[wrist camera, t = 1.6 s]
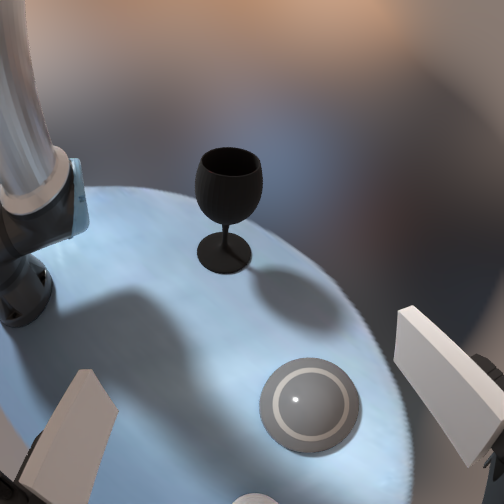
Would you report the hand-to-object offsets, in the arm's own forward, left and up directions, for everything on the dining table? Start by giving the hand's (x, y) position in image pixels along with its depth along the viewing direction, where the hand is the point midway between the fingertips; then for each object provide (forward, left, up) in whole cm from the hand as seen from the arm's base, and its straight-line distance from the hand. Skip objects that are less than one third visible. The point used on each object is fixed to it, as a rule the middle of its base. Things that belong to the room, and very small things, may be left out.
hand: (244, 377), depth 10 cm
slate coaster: (+10, +8, -30) cm, 33 cm away
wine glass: (-13, +30, -30) cm, 45 cm away
